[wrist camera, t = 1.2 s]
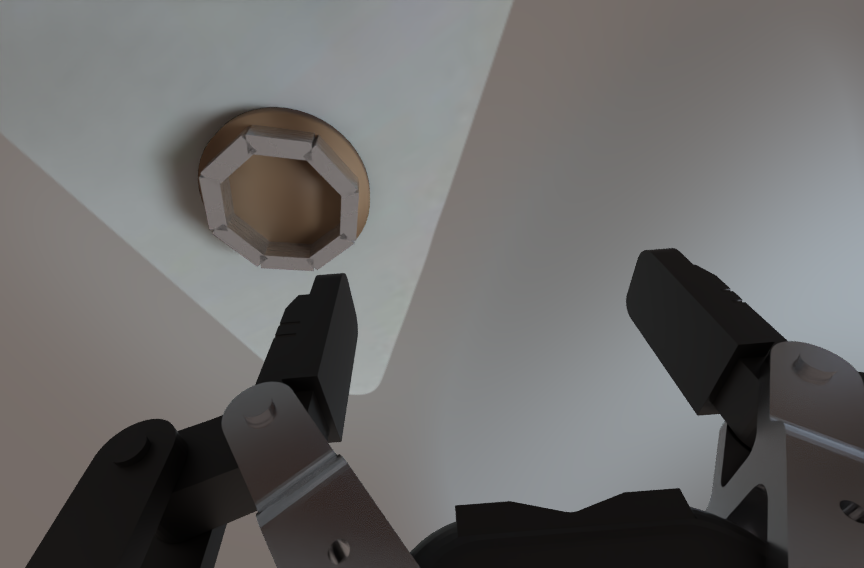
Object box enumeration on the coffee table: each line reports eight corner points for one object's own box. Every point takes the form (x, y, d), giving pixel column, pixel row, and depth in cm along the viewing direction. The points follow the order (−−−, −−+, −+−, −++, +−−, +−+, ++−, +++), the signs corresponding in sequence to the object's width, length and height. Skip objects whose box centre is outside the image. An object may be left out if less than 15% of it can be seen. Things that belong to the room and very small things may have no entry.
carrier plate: (219, 249, 32) (205, 274, 30) (189, 94, 25) (168, 109, 22) (364, 258, 35) (364, 282, 32) (375, 120, 28) (376, 136, 25)
